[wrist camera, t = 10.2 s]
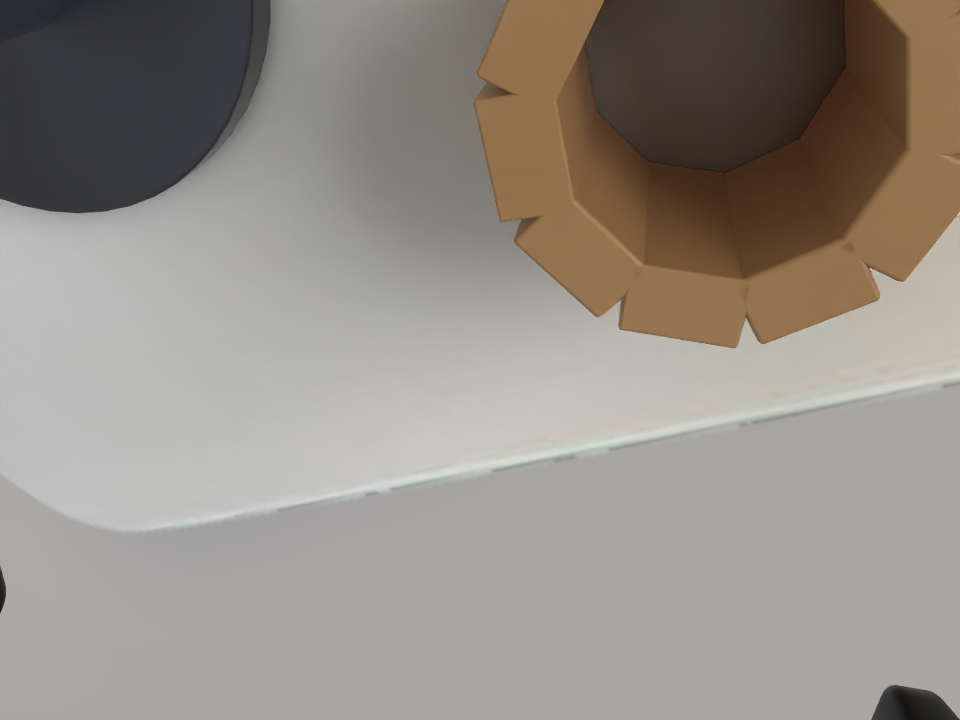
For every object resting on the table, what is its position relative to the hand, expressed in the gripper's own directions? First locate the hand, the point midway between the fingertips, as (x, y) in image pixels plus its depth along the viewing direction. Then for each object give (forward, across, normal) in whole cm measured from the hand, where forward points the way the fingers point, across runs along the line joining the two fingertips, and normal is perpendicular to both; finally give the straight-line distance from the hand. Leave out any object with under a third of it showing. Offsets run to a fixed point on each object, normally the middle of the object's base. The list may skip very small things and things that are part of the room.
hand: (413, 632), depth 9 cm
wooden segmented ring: (+12, -3, -4) cm, 13 cm away
